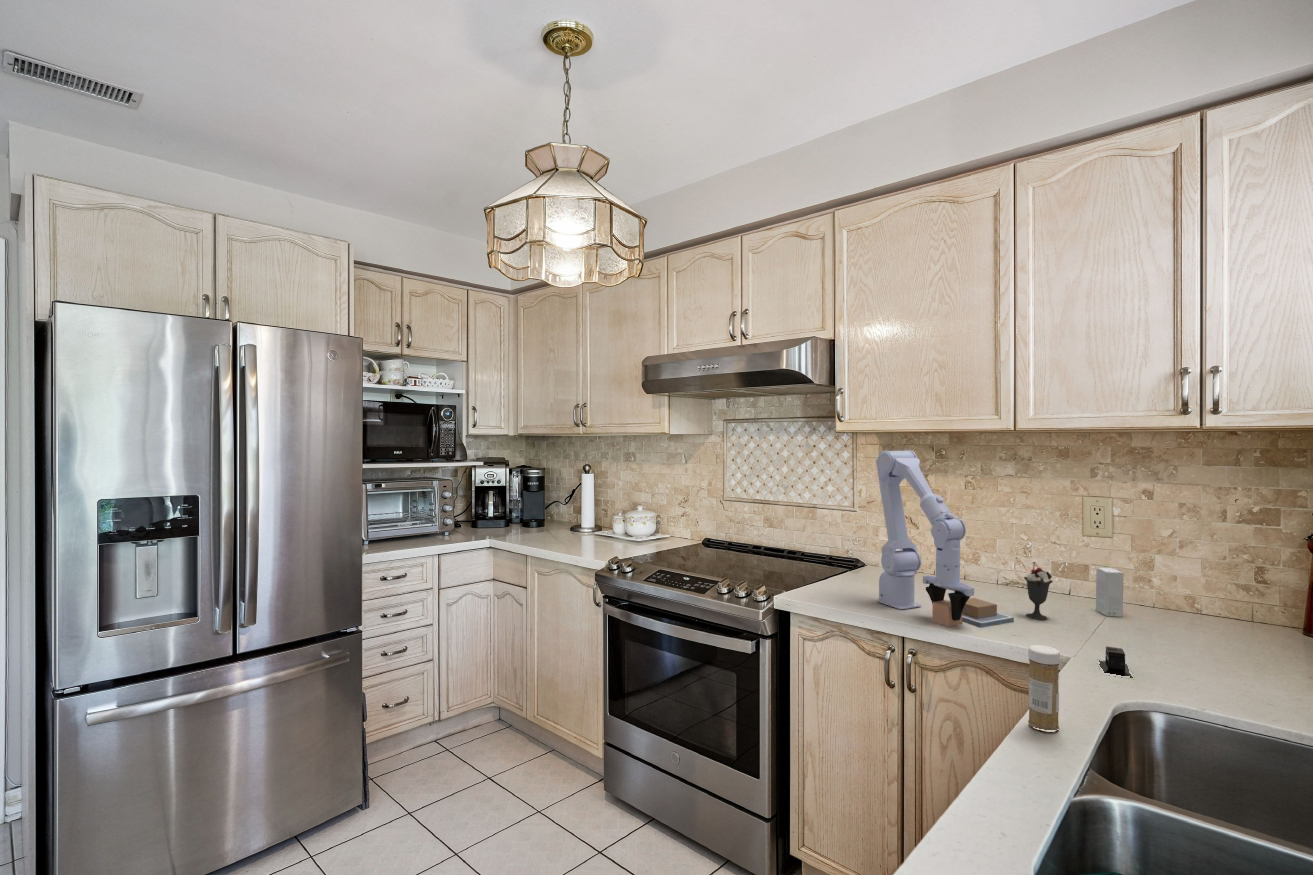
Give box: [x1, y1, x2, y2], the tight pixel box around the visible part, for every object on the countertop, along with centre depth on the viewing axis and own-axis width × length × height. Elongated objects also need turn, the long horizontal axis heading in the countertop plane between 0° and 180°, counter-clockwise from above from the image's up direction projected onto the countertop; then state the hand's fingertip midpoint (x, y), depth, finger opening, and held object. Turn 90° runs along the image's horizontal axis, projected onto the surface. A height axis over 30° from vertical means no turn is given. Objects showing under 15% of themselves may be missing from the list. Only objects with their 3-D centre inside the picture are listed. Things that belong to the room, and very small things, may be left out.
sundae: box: [1023, 561, 1053, 621], centre depth 169 cm, size 7×7×15 cm
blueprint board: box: [962, 597, 1015, 628], centre depth 169 cm, size 13×12×4 cm
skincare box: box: [1095, 567, 1124, 618], centre depth 173 cm, size 6×4×12 cm
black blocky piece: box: [1098, 646, 1133, 678], centre depth 133 cm, size 12×7×5 cm, turn 151°
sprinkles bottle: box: [1027, 644, 1061, 730], centre depth 107 cm, size 5×5×14 cm
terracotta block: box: [931, 599, 963, 627], centre depth 165 cm, size 5×5×5 cm
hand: (947, 616), depth 165 cm, fingers closed on terracotta block, 5 cm apart
